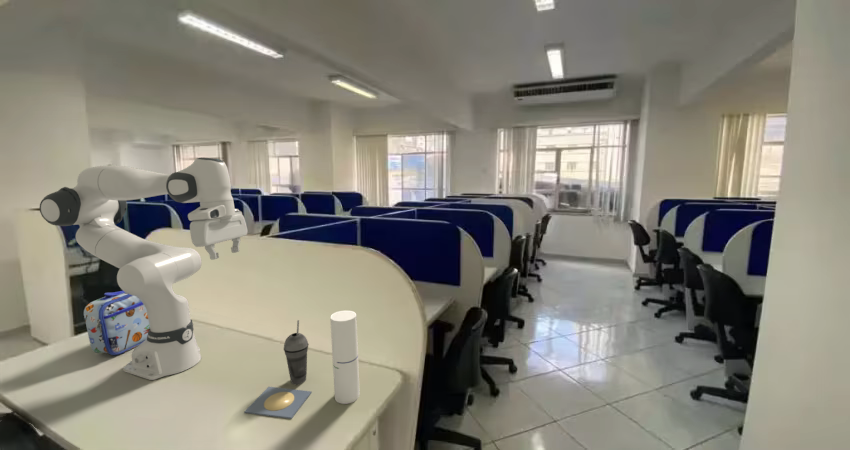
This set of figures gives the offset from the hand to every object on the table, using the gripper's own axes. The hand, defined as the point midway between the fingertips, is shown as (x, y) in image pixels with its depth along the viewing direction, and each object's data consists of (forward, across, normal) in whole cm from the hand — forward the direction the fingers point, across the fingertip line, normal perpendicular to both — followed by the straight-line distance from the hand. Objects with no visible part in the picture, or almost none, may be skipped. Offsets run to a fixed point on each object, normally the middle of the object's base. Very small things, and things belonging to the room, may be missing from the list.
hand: (225, 255), depth 109 cm
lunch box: (+34, -14, -54) cm, 66 cm away
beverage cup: (+41, +1, +19) cm, 45 cm away
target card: (+41, +11, +18) cm, 47 cm away
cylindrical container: (+43, +6, +36) cm, 57 cm away
